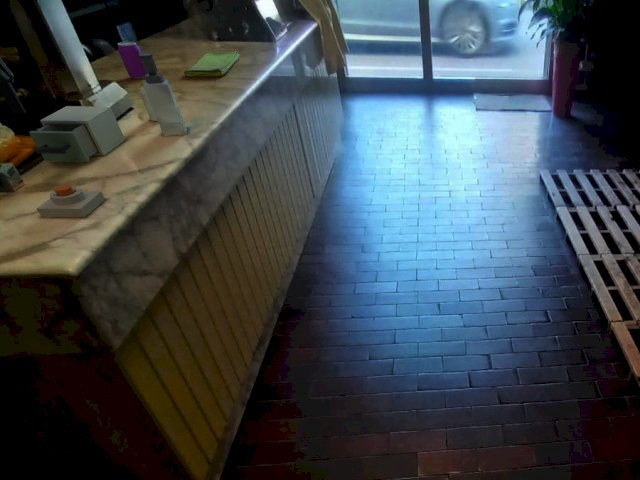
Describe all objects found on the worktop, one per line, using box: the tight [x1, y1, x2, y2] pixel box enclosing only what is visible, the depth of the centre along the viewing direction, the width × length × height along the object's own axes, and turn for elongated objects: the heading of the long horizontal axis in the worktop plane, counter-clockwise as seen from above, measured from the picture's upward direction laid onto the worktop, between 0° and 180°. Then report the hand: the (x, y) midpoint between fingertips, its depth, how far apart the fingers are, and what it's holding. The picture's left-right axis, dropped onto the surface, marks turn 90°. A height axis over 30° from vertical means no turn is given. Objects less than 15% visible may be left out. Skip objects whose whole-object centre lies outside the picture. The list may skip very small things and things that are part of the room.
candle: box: [138, 85, 158, 122], centre depth 174 cm, size 6×6×10 cm
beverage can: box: [117, 41, 148, 80], centre depth 209 cm, size 8×8×12 cm
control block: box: [36, 186, 106, 218], centre depth 126 cm, size 10×10×4 cm
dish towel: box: [183, 50, 240, 78], centre depth 228 cm, size 15×36×3 cm, turn 10°
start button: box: [53, 183, 75, 196], centre depth 125 cm, size 4×4×2 cm
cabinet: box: [39, 105, 126, 157], centre depth 153 cm, size 14×13×10 cm
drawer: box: [28, 124, 99, 163], centre depth 146 cm, size 17×11×8 cm
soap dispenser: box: [139, 52, 187, 137], centre depth 162 cm, size 6×9×22 cm
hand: (6, 119), depth 127 cm, fingers open, 10 cm apart
